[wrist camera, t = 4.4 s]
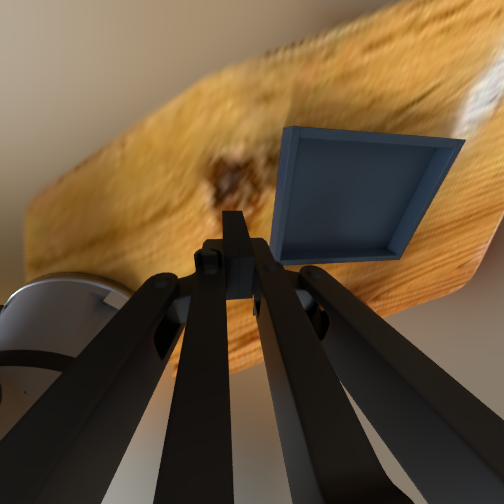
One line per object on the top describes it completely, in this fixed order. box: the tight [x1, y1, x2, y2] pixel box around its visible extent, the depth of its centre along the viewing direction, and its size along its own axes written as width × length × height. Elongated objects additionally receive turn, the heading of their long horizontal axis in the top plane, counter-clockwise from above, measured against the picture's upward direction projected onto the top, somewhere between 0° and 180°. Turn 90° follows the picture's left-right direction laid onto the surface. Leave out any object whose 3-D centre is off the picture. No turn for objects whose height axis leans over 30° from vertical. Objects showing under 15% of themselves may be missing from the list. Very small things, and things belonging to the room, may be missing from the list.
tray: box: [269, 126, 466, 265], centre depth 22 cm, size 19×15×3 cm
